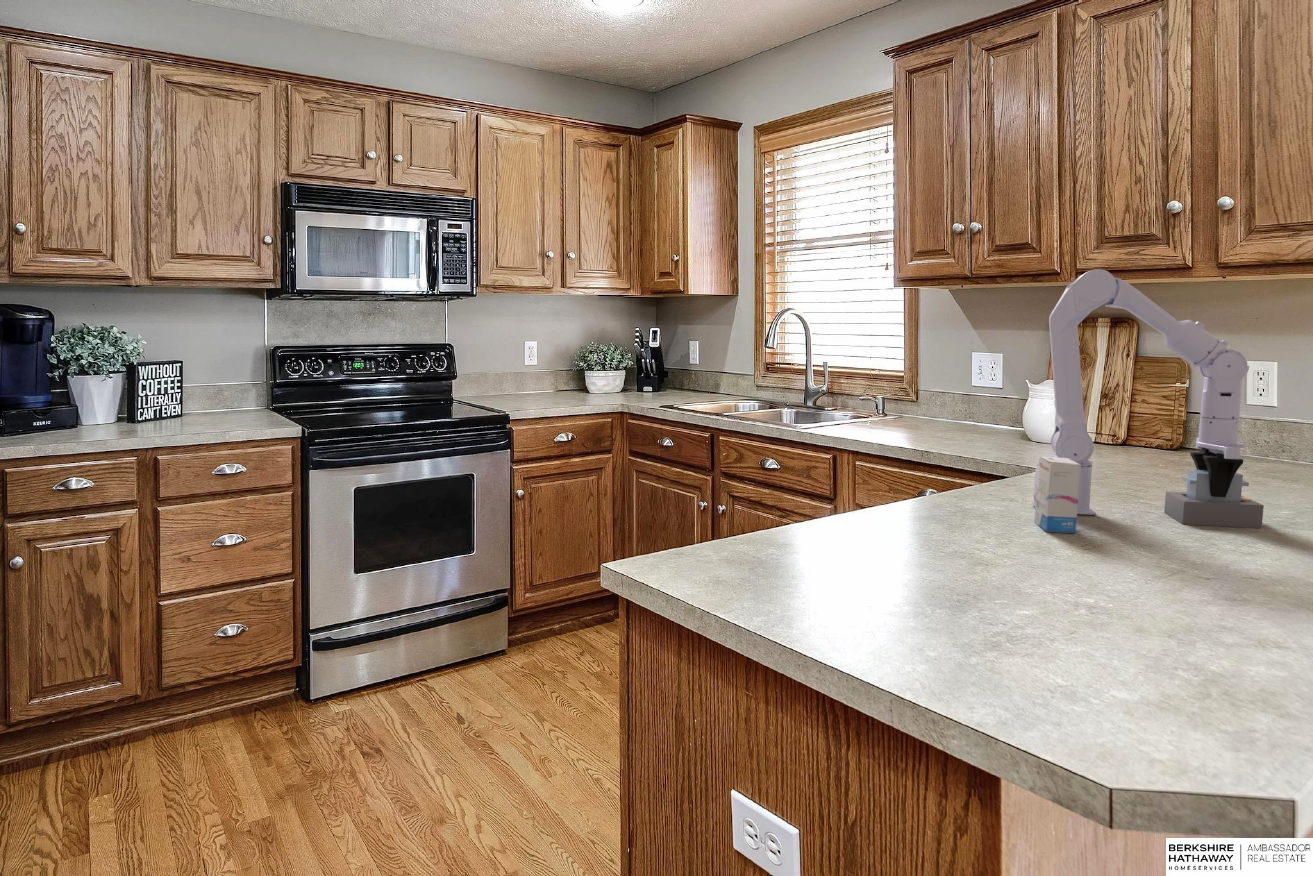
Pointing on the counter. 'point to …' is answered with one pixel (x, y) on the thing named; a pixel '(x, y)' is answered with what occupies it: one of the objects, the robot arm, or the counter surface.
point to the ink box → (1057, 494)
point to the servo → (1201, 489)
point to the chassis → (1213, 511)
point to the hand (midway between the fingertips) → (1213, 494)
